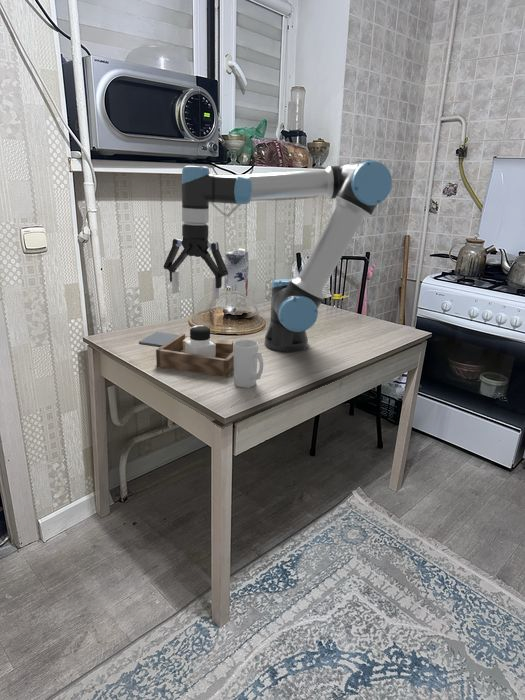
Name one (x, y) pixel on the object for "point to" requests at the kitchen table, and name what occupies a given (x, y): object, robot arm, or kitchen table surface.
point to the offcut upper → (224, 346)
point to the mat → (159, 339)
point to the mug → (246, 363)
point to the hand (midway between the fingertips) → (195, 295)
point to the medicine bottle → (200, 342)
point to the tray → (192, 360)
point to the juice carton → (237, 271)
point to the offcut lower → (222, 355)
